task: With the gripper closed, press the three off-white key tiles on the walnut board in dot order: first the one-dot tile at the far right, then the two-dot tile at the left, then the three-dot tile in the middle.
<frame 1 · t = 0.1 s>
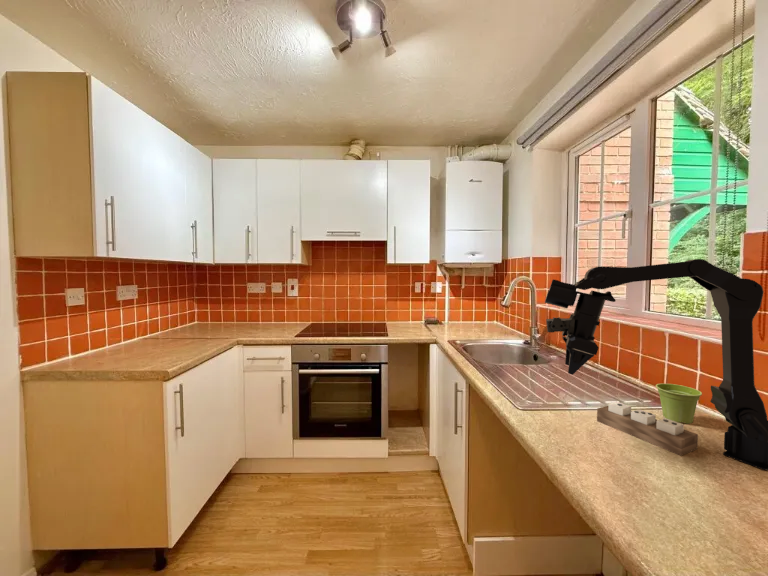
hand: (568, 369, 83), 15 cm above the countertop, tool pointing down, fingers open, 9 cm apart
tile two dot: (669, 427, 74), point 4 cm above the countertop, slide at 0.0 cm
plant pot: (677, 419, 87), on the countertop
tile three dot: (643, 417, 79), point 4 cm above the countertop, slide at 0.0 cm
tile one dot: (619, 409, 84), point 4 cm above the countertop, slide at 0.0 cm
tile board: (642, 433, 79), on the countertop
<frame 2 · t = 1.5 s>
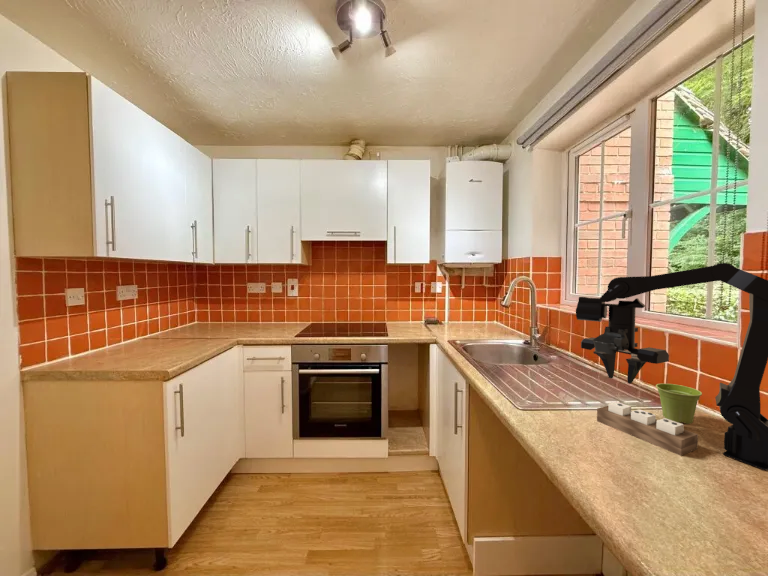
hand: (620, 380, 84), 12 cm above the countertop, tool pointing down, fingers open, 4 cm apart
nothing on the countertop moved.
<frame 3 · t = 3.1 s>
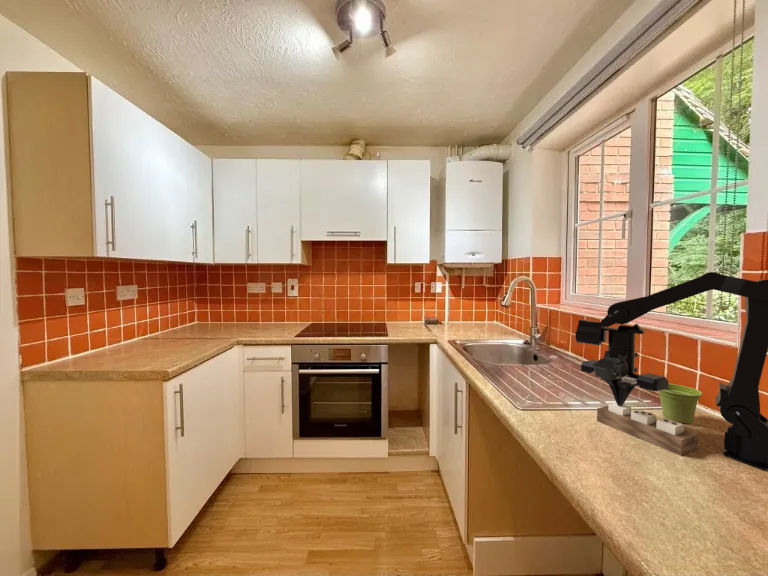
hand: (619, 405, 84), 5 cm above the countertop, tool pointing down, fingers closed, pressing on tile one dot
tile one dot: (619, 409, 84), point 4 cm above the countertop, slide at 0.2 cm, touching gripper
everything else where it was.
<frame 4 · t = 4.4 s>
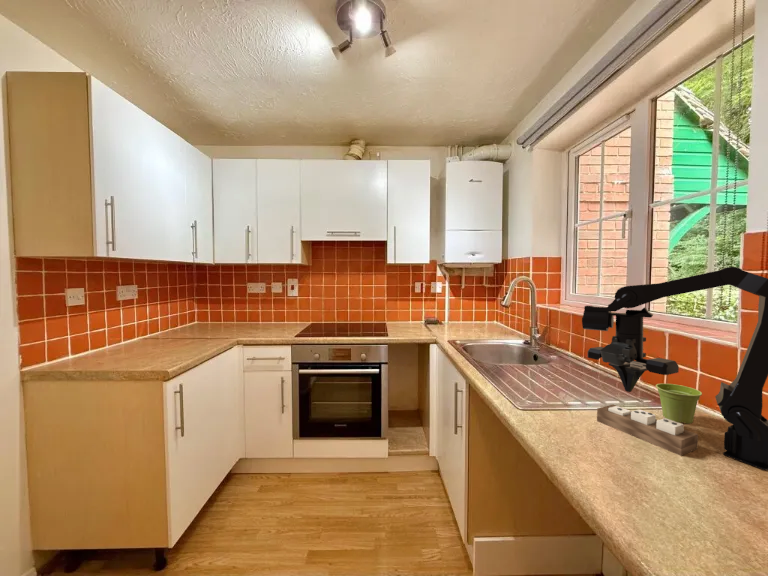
hand: (628, 391, 82), 10 cm above the countertop, tool pointing down, fingers closed
tile one dot: (619, 413, 84), point 3 cm above the countertop, slide at 1.2 cm
everything else where it was.
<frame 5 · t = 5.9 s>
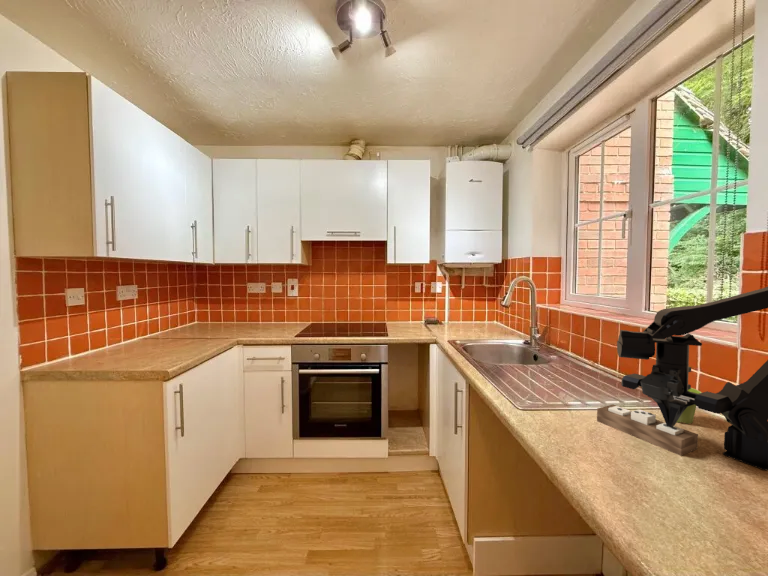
hand: (670, 426, 74), 4 cm above the countertop, tool pointing down, fingers closed, pressing on tile two dot
tile two dot: (669, 431, 74), point 3 cm above the countertop, slide at 1.2 cm, touching gripper
everything else where it was.
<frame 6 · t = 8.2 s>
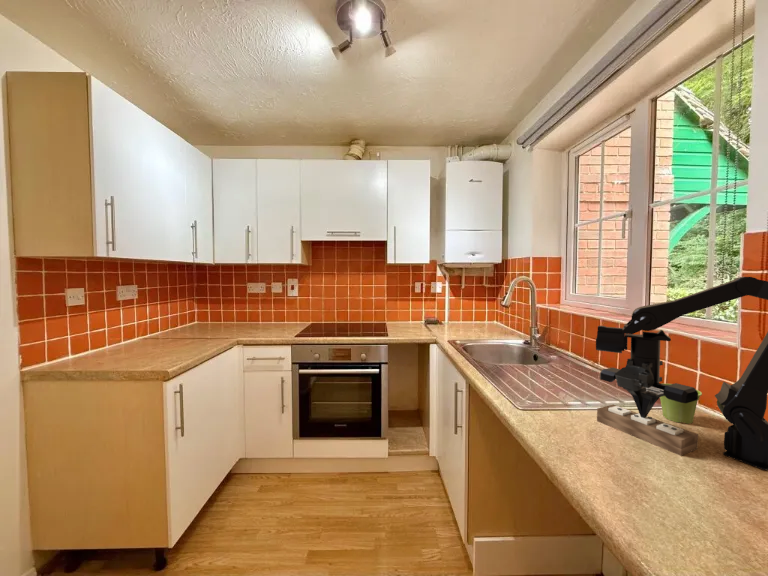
hand: (643, 416, 79), 4 cm above the countertop, tool pointing down, fingers closed, pressing on tile three dot
tile two dot: (669, 432, 74), point 3 cm above the countertop, slide at 1.2 cm
tile three dot: (642, 421, 79), point 3 cm above the countertop, slide at 1.0 cm, touching gripper
everything else where it was.
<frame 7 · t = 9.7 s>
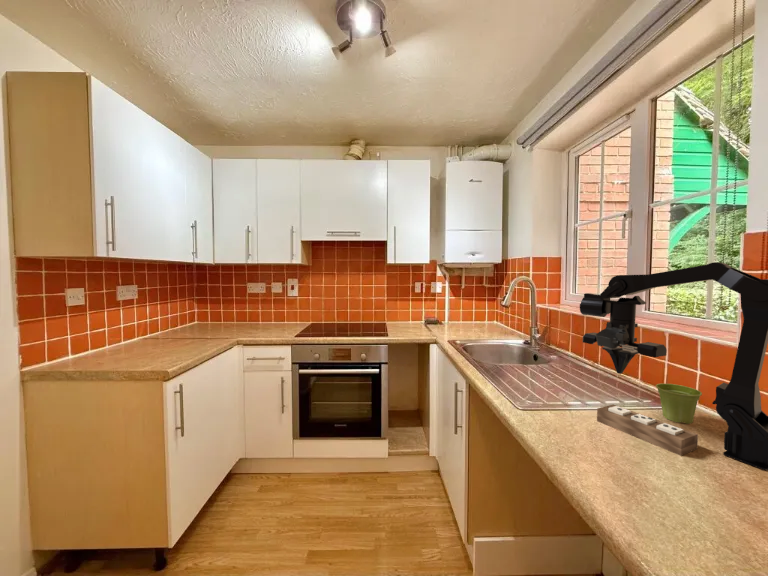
hand: (619, 373, 88), 13 cm above the countertop, tool pointing down, fingers closed
tile three dot: (642, 422, 79), point 3 cm above the countertop, slide at 1.2 cm
everything else where it was.
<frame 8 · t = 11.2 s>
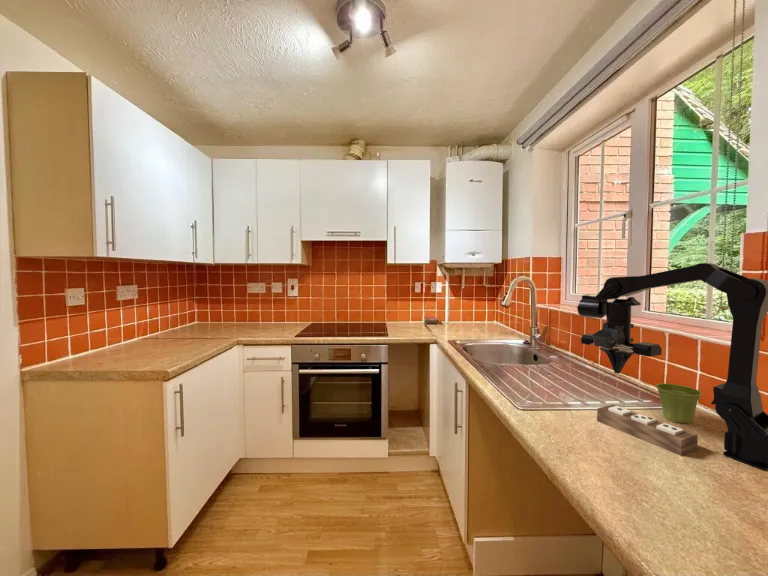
hand: (617, 373, 90), 12 cm above the countertop, tool pointing down, fingers closed
nothing on the countertop moved.
at the end: tile one dot slide at 1.2 cm; tile two dot slide at 1.2 cm; tile three dot slide at 1.2 cm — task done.
